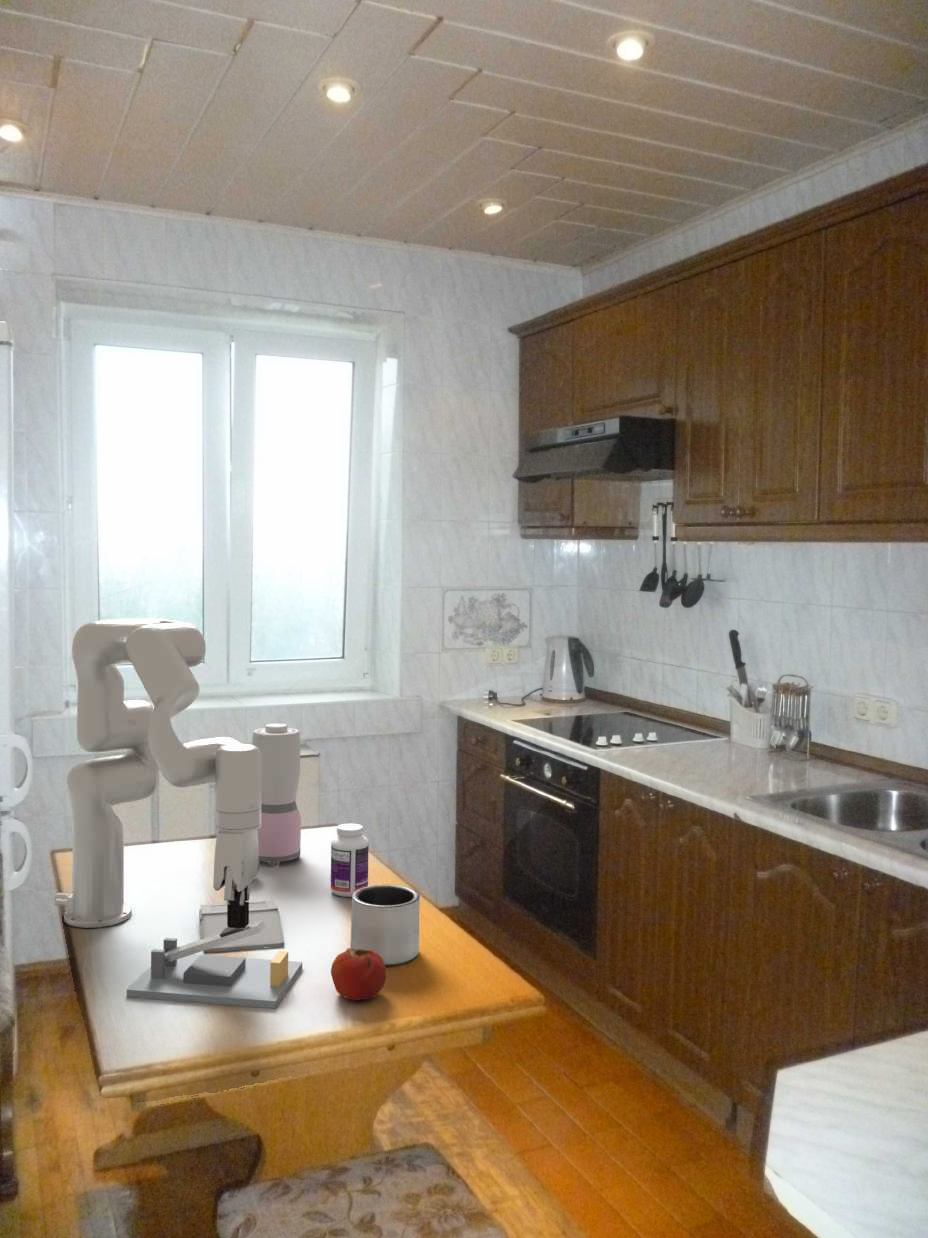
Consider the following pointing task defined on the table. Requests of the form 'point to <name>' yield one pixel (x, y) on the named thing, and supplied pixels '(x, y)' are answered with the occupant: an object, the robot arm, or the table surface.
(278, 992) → the clamp base
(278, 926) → the gadget
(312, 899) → the table surface
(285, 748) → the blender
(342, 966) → the tomato
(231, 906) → the robot arm
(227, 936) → the clamp bar
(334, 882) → the pill bottle
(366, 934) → the planter
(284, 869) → the table surface
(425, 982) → the table surface
